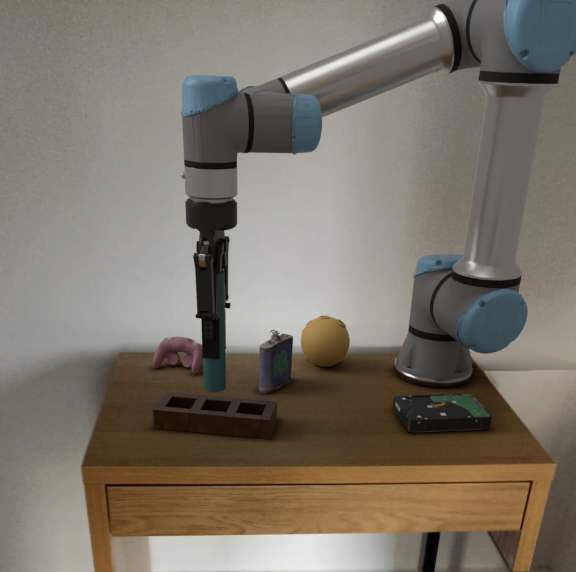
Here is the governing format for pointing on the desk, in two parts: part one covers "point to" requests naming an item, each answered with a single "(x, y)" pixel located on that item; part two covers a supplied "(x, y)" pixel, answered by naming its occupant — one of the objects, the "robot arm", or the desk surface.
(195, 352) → the video game controller
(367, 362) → the desk surface
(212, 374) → the dowel
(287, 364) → the flask
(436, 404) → the disk drive
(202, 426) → the pen block
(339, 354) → the stress ball
